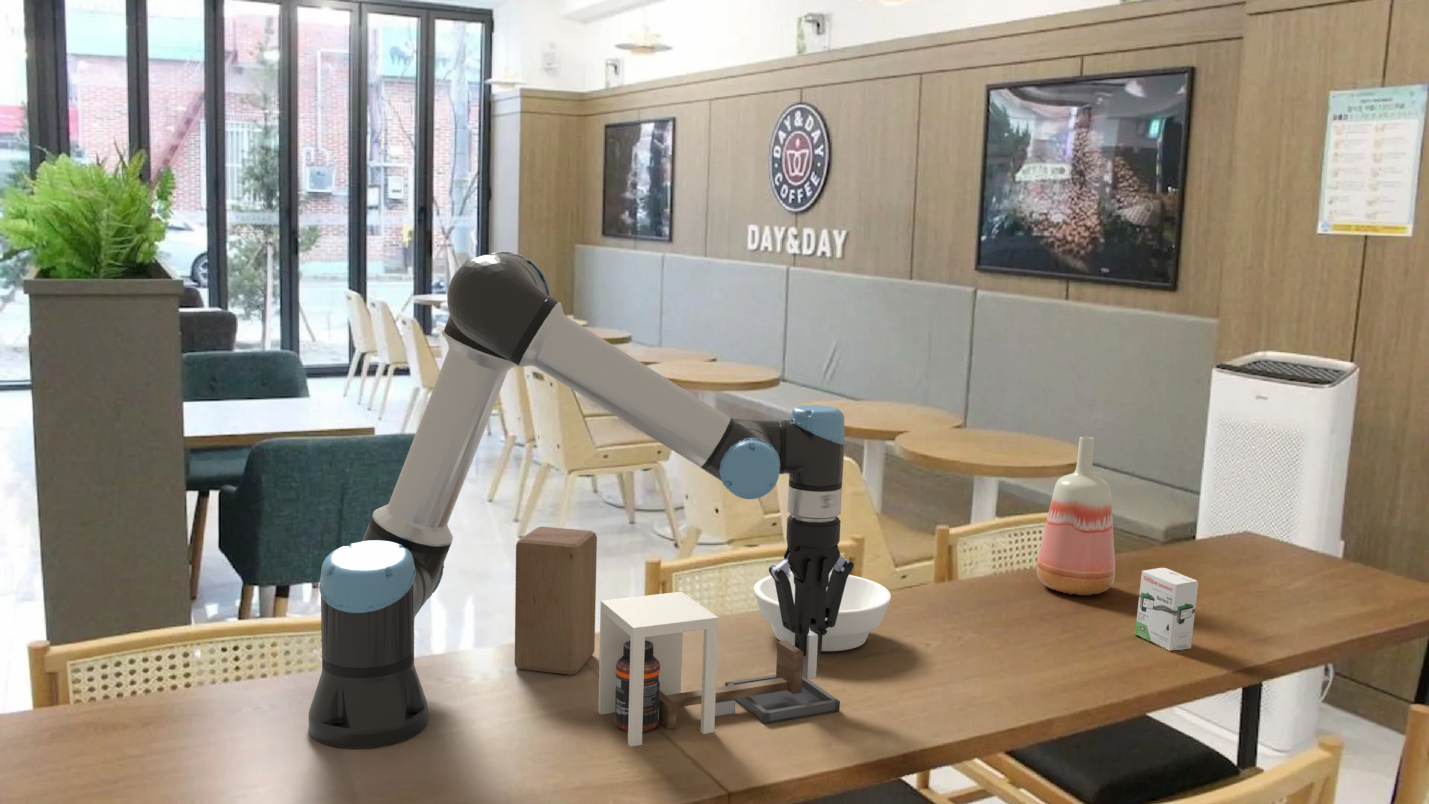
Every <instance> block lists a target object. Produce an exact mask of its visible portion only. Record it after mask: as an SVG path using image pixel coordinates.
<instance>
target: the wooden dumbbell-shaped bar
mask: <svg viewBox="0 0 1429 804" xmlns="http://www.w3.org/2000/svg"><path fill="white" fill-rule="evenodd" d="M776 644H777V647H776V666H775V667H776V671H775V675H776V679H769V680H763V681H756V682H749V683H743V684H736V685H730V686H725V685H723V686H716V697H715V702H716V701H722V700H728V699H735V698H741V697H747V696H754V695H760V694H766V693H772V692H779V691H785V690H788V691H789V692H791V693H792V694H798V693H802V674H803V653H804V652H803V651H801V650H800V649H798V648H797V647H795V646H794V645H792V644H791V643H789V642H787V641H780V640H779V641H777V643H776ZM701 702H702V689H699V690H691V691H685V692H681V693H677V694H671V695H665V694H663V693H662V692H661V691H660V699H659V722H660V723H662V724H663V725H664V726H665V727H666V728H667V729H672V728H676V727H677V709H679V708H683V707H689V706H696V705H701Z"/></svg>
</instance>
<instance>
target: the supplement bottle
mask: <svg viewBox="0 0 1429 804" xmlns="http://www.w3.org/2000/svg"><path fill="white" fill-rule="evenodd" d="M630 641H631V640H630ZM630 641H627V642H626V643H624V646H623V654H624V655H623V656H622V657H621V658H620V659H619V660H618V661H617V664H616V693H615V694H616V695H615V713H614V717H615V719H614V722H615V725H616V727H618V729H621V730H622V731H625V732H628V719H629V680H630ZM653 653H654V652H653V643H651V642H650V641H647V640H645V652H644V689H643V725H642V733H644V732H648V731H651V730H653V729H655V728H657V727H658V725H659V723H660V720H659V699H660V663H659V661H658V660H657V659H656V658H655V657H654V656H653Z"/></svg>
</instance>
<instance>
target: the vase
mask: <svg viewBox="0 0 1429 804" xmlns="http://www.w3.org/2000/svg"><path fill="white" fill-rule="evenodd" d="M1094 447H1095V438H1094V437H1093V436H1085V435H1084V436H1080V437H1079V440H1078V450H1077V458H1076V466H1075V470H1074V471H1073V472H1072V473H1068V474H1066V475H1063V476H1061V477H1060V478H1058V479H1057V481H1056V482H1055V485H1054V488H1053V491H1052V497H1051V501H1050V505H1049V509H1048V512H1047V517H1046V521H1045V522H1046V523H1045V525H1044V530H1043V534H1042V539H1041V543H1040V547H1039V550H1038V555H1037V561H1036V567H1035V568H1036V572H1035V573H1036V576H1037V578H1038V580H1039V581H1040V582H1041V583H1042V584H1043V585H1044V586H1046V587H1047V588H1048V589H1051V590H1053V591H1055V590H1056V591H1055V592H1058V591H1059V592H1058V593H1061V592H1063V593H1062V594H1066V593H1068V594H1067V595H1072V594H1078V595H1077V596H1093V595H1092V594H1095V595H1098V594H1102V593H1104V592H1106V591H1108V590H1109V589H1110V588H1112V586H1113V584H1114V581H1115V578H1116V577H1115V575H1116V573H1115V572H1116V562H1115V561H1116V560H1115V559H1116V558H1115V557H1116V556H1115V542H1114V541H1115V539H1114V525H1113V524H1114V522H1113V521H1114V519H1113V502H1112V501H1113V500H1112V499H1113V498H1112V489H1111V486H1110V484H1109V483H1108V482H1107V481H1106V480H1105V479H1103V478H1101V477H1099V476H1098V475H1096V474H1095V473H1094V470H1093V462H1094V460H1093V459H1094Z"/></svg>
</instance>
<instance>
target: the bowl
mask: <svg viewBox="0 0 1429 804" xmlns="http://www.w3.org/2000/svg"><path fill="white" fill-rule="evenodd" d="M831 573H832V571H831V572H830V573H829V580H830V576H831ZM789 574H790V577H789V578H788V579H789V581H790V584H791V589H792V594H793V600H794V603H795V584H794V575H793V573H792V572H791V571H789ZM827 588H828V587H827ZM827 588H826V592H827ZM753 592H754V595H755V600H756V603H757V606H758V608H759V613H760V614H761V617H762V618H763V619H764V620H765V621H766V622H768V623H769V624H770V625H771V628H772V631H773V632H772V633H773V635H774V636H775V638H776V639H778V640H779V641H787V642H789V643H791V644H792V645H794V646H795V633H793V632H791V631H790V630H788V629H786V628H785V627H784V626H783V623H782V618H781V612H780V607H779V602H778V596H777V591H776V586H775V581H774V579H773V577H772V576H771V575H768V576H766V577H763V578H762V579H760V580H758V581H756V583H755V584H754V586H753ZM891 600H892V595H891V592H890V590H888V589H887V588H886V587H885V586H883V585H882V584H880V583H878V582H876V581H874V580H871V579H867V578H864V577H861V576H856V575H852V574H849V576H848V577H847V581H846V584H845V588H844V592H843V596H842V600H841V604H840V608H839V612H838V616H837V619H836V623H835V626H834V627H828V628H827V629H826V630H827V633H826V634H825V635H822V650H821V652H840V651H847V650H852V649H855V648H858V647H860V646H862V645H863V644H865V643H866V642H867V639H868V637H869V634H870V632H871V630H874V629H876V628H878V627H879V626H880V625H881V624H882V621H883V619H884V616H885V614H886V612H887V609H888V607H889V604H890V603H891ZM809 630H810V627H809Z"/></svg>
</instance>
